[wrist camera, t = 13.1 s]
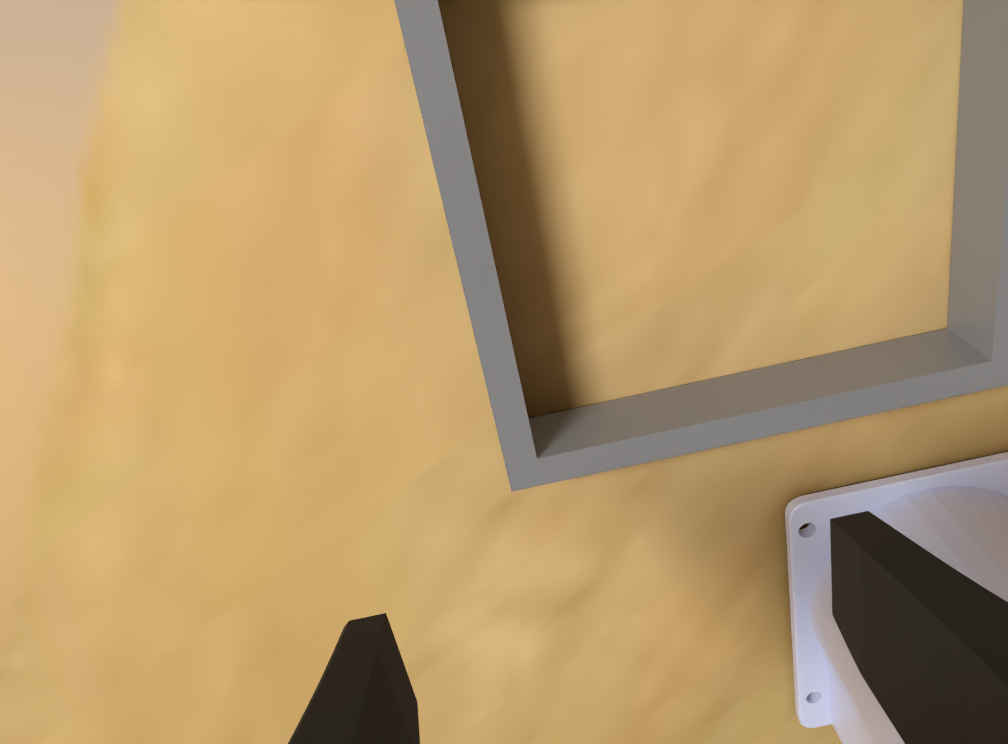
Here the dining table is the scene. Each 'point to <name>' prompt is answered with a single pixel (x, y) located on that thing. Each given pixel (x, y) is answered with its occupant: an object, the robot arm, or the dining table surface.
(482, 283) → the grey square frame
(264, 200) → the dining table surface
